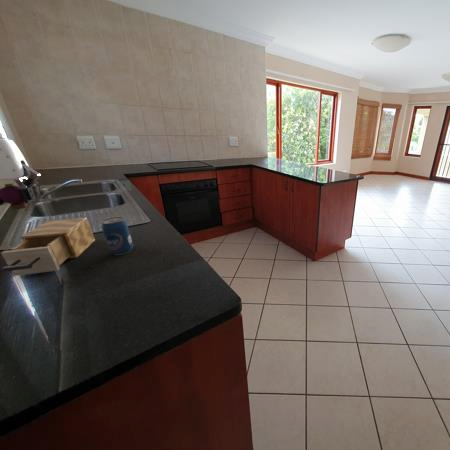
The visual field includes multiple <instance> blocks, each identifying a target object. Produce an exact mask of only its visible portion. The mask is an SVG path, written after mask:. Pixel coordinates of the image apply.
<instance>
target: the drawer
mask: <svg viewBox="0 0 450 450" xmlns="http://www.w3.org/2000/svg"><path fill="white" fill-rule="evenodd" d="M0 254H1V256H2V258H3V260H4V261H5V263H6V265H7V266H3V267H2V269H1V271H2V272H4V273H6V272H7V273H8V272H11V273H12V275H13V277H18V276H25V275H33V274H42V273H47V272H56V271H59V270H61V267H60V266H61V265H62V264H63V263H64V262H65V261H66V260H68V259H67V258H68V257H70V256H71V255H72V252H71V249H70V247H69V245H68V242H67V240H66V238H65V235H56V236H46V237H36V238H29V239H27V240H26V241H24V242H23V241H22V242H20V243H19V244H18V245H16V246H14V247H12V248H11V249H10V250H3V251H1V253H0Z"/></svg>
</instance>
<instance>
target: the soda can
mask: <svg viewBox="0 0 450 450" xmlns="http://www.w3.org/2000/svg"><path fill="white" fill-rule="evenodd" d="M101 223H102V224H101V230H102V233H103V236H104V239H105V241H106V245H107V248H108V250H109V252H110V253H111V254H113V255H115V256H122V255H126V254H128V253H130V252H131V251H132V250H133V248H134V243H133V239H132V237H131V233H130V230H129V226H128V223H127V221H125V220H124V218H123V217H121V216H115V217H110V218H106V219H104V220H102V221H101Z"/></svg>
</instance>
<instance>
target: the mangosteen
mask: <svg viewBox="0 0 450 450" xmlns="http://www.w3.org/2000/svg"><path fill="white" fill-rule="evenodd" d="M0 189H1V190H0V198H1V199H2V200H3V201H4V202H6V204H9V205H10V207H11V209H12V210H21V209H22V210H23V209H26V208H28V207H29V206H28V203H25V201H24V199H23V197H22V195H21V193H20V190H21V187H20V186H19V185H14V183H6V184H5V183H4V187H2V188H0Z"/></svg>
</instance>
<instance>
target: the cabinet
mask: <svg viewBox="0 0 450 450" xmlns="http://www.w3.org/2000/svg"><path fill="white" fill-rule="evenodd" d="M56 235H65V238H66V240H67V242H68V245H69V247H70V249H71V252H72V255H71V256H70V257H68V258H67V259H66V260H69V259H70V260H71V259H76V258H77V259H78V257H79V256H80V255H82V254H83V253H84V251H86V250H87V249H88V248H89V247H90V246H91V245H92V244H93V243H94V242H95V241H96V239H95V236H94V234H93V231H92V227H91V225H90V223H89V219H88V218H87V217H78V218H77V217H76V218H66V219H65V218H64V219H53V220H47V221H45V222H43V223H42V224H40V225H38V226H36V227H35V228H33V229H31V230H29V231H28V232H26V233H25V234H23V235H21V236H20V239H21V240H22V242H24V241H26V240H27V239H29V238H36V237H46V236H56Z"/></svg>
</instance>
